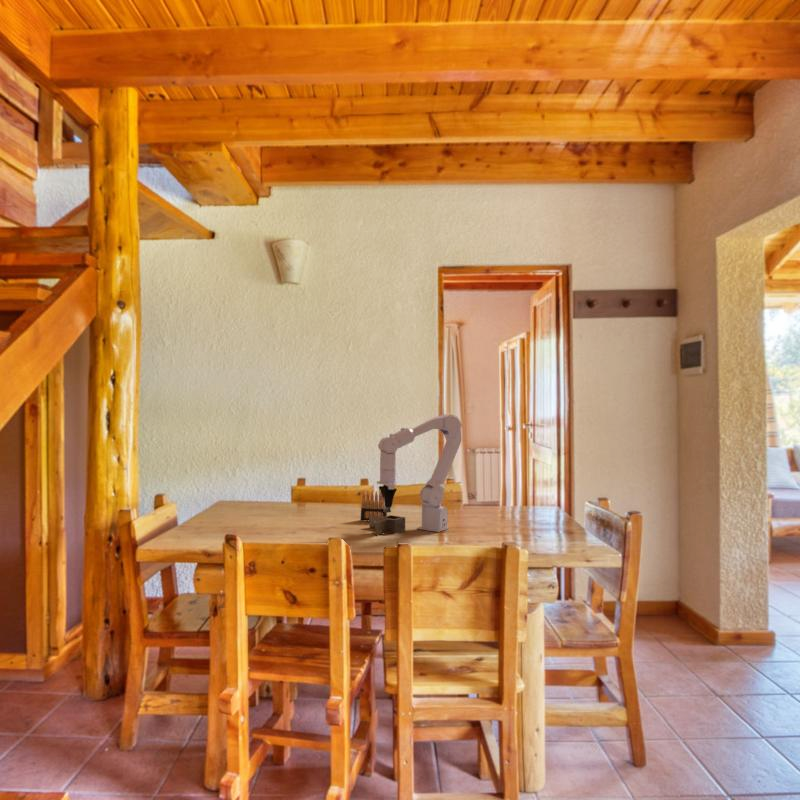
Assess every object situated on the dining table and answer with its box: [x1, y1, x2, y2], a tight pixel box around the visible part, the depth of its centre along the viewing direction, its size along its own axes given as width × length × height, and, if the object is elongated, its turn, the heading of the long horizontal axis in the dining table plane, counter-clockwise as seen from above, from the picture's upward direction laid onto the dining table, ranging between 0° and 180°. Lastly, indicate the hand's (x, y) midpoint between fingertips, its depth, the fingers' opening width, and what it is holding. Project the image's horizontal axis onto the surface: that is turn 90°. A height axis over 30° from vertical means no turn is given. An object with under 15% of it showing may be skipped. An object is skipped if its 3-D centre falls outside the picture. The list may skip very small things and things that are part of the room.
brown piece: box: [368, 514, 406, 536], centre depth 224 cm, size 14×14×5 cm
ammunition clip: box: [360, 490, 388, 520], centre depth 243 cm, size 11×2×12 cm, turn 79°
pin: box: [384, 501, 392, 513], centre depth 224 cm, size 3×3×8 cm
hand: (387, 506), depth 224 cm, fingers closed on pin, 3 cm apart
